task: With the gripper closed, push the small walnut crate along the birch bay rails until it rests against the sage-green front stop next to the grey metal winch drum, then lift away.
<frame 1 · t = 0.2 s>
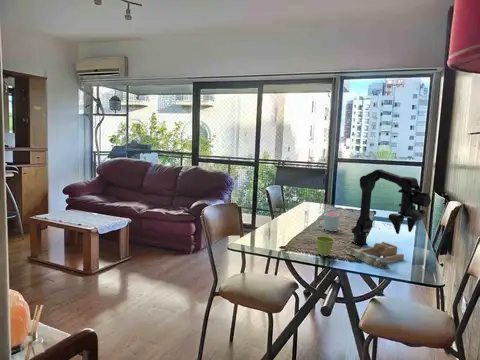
hand: (403, 232, 185), 14 cm above the table, tool pointing down, fingers open, 9 cm apart
crate: (385, 250, 190), point 3 cm above the table, slide at 0.0 cm
bay: (376, 257, 188), on the table
mug: (327, 229, 237), on the table
winch drum: (382, 267, 175), on the table
plant pot: (323, 255, 189), on the table
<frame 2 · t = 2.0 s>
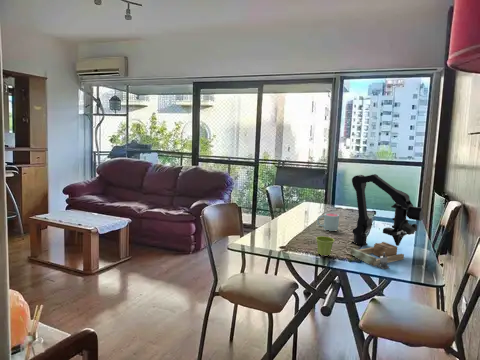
hand: (397, 245, 195), 4 cm above the table, tool pointing down, fingers closed
nothing on the table moved.
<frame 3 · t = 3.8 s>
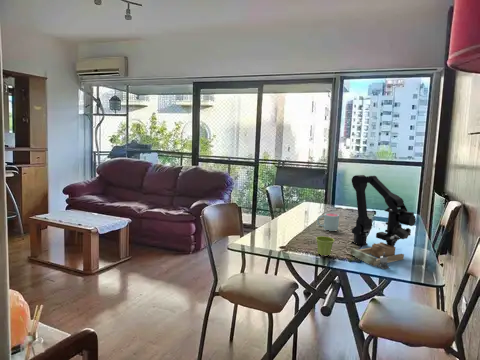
hand: (390, 250, 193), 2 cm above the table, tool pointing down, fingers closed
crate: (383, 250, 190), point 3 cm above the table, slide at 1.5 cm, touching gripper
everything else where it was.
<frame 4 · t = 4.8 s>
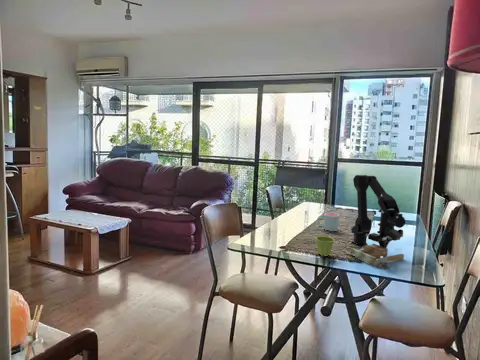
hand: (383, 251, 190), 3 cm above the table, tool pointing down, fingers closed
crate: (375, 252, 187), point 3 cm above the table, slide at 7.3 cm, touching gripper
everything else where it was.
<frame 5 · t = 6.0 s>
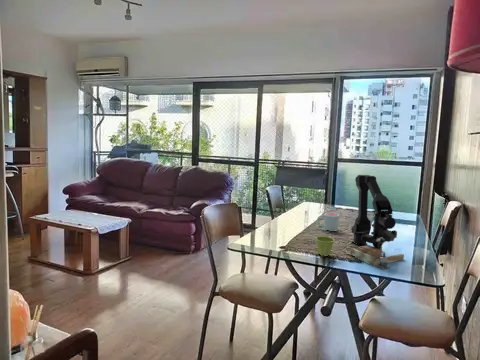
hand: (377, 252, 188), 3 cm above the table, tool pointing down, fingers closed
crate: (369, 253, 185), point 3 cm above the table, slide at 11.8 cm, touching bay, gripper
everything else where it was.
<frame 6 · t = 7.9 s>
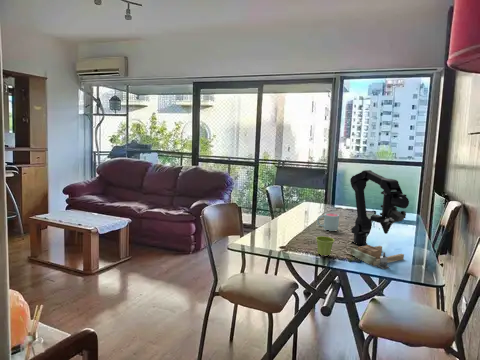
hand: (385, 233, 190), 12 cm above the table, tool pointing down, fingers closed
crate: (369, 253, 185), point 3 cm above the table, slide at 11.8 cm, touching bay
everything else where it was.
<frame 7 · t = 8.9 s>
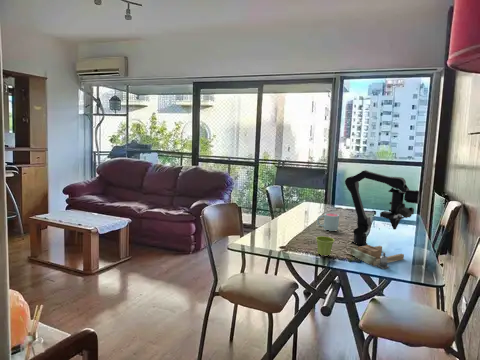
hand: (394, 229, 198), 12 cm above the table, tool pointing down, fingers closed
nothing on the table moved.
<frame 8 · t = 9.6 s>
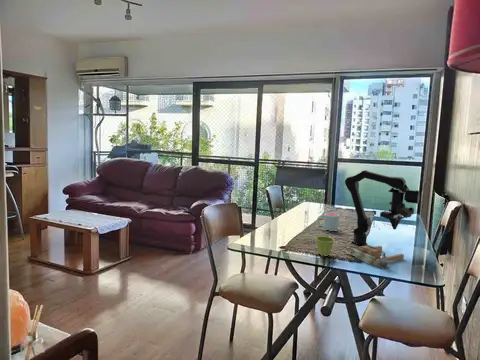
hand: (394, 229, 198), 12 cm above the table, tool pointing down, fingers closed
nothing on the table moved.
at the end: crate slide at 11.8 cm; crate touching bay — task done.
